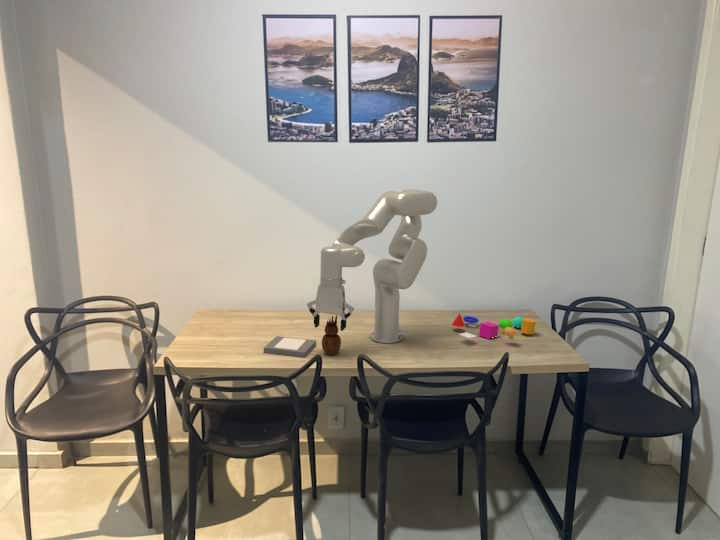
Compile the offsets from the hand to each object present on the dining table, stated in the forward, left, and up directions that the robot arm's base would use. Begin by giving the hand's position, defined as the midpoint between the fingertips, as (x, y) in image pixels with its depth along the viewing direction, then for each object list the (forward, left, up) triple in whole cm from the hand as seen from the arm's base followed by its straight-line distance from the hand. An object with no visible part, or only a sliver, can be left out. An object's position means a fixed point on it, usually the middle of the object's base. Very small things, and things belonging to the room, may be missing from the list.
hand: (329, 328), depth 188 cm
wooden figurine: (0, -1, -10) cm, 10 cm away
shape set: (-56, -38, -11) cm, 69 cm away
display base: (+16, -1, -10) cm, 19 cm away
